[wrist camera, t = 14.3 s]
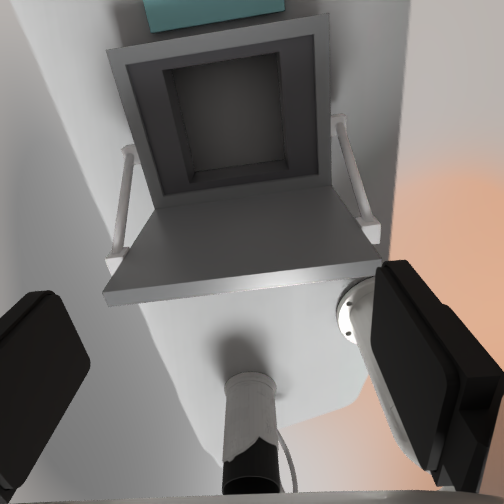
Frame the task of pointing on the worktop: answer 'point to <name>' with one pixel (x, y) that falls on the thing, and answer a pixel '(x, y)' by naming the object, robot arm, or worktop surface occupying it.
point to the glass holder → (252, 437)
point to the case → (236, 178)
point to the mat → (204, 12)
